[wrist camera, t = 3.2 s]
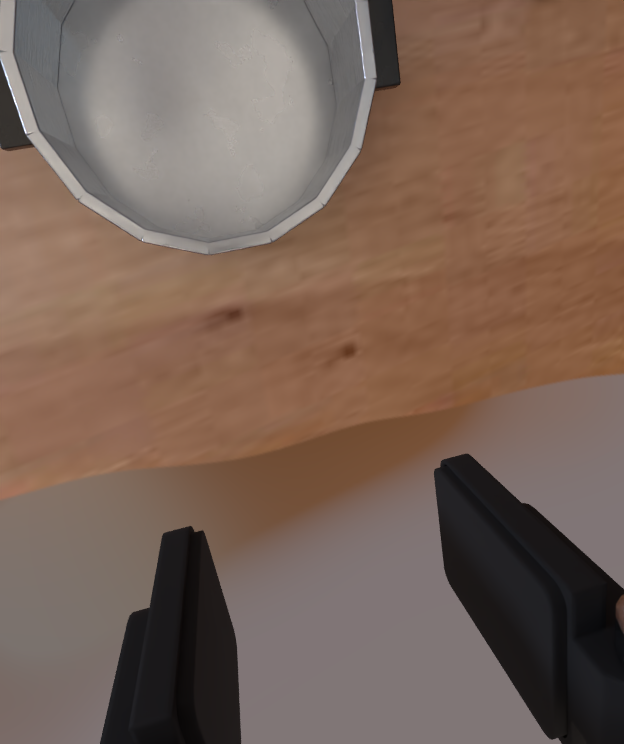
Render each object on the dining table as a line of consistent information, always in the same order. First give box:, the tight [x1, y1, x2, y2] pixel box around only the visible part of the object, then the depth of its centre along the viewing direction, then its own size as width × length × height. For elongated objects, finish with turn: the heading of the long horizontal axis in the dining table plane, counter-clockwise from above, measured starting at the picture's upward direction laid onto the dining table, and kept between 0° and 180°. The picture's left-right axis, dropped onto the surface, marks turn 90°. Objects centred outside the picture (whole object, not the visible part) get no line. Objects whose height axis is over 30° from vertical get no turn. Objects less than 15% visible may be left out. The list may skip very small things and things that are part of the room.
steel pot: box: [0, 0, 401, 255], centre depth 23 cm, size 15×18×6 cm
